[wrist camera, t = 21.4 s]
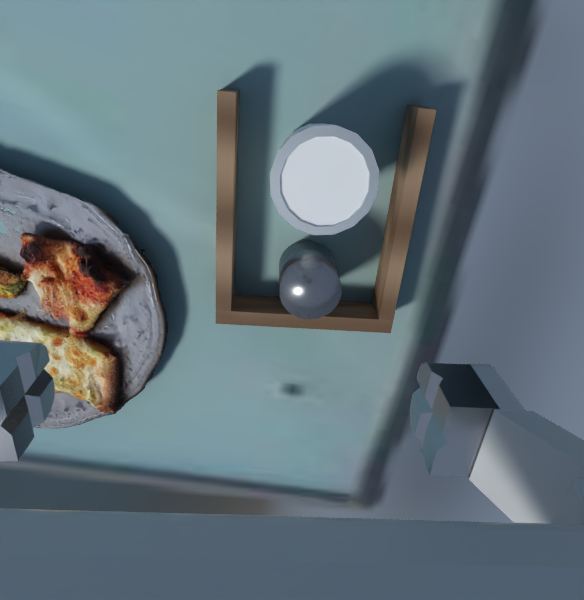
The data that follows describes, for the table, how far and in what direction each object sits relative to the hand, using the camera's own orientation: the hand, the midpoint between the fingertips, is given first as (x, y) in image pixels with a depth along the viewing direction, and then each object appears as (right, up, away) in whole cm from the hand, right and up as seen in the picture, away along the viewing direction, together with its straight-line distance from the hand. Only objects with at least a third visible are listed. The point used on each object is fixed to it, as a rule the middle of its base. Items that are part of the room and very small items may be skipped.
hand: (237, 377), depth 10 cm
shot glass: (+3, +12, +25) cm, 28 cm away
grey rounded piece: (+2, +4, +28) cm, 29 cm away
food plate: (-22, +2, +29) cm, 37 cm away
